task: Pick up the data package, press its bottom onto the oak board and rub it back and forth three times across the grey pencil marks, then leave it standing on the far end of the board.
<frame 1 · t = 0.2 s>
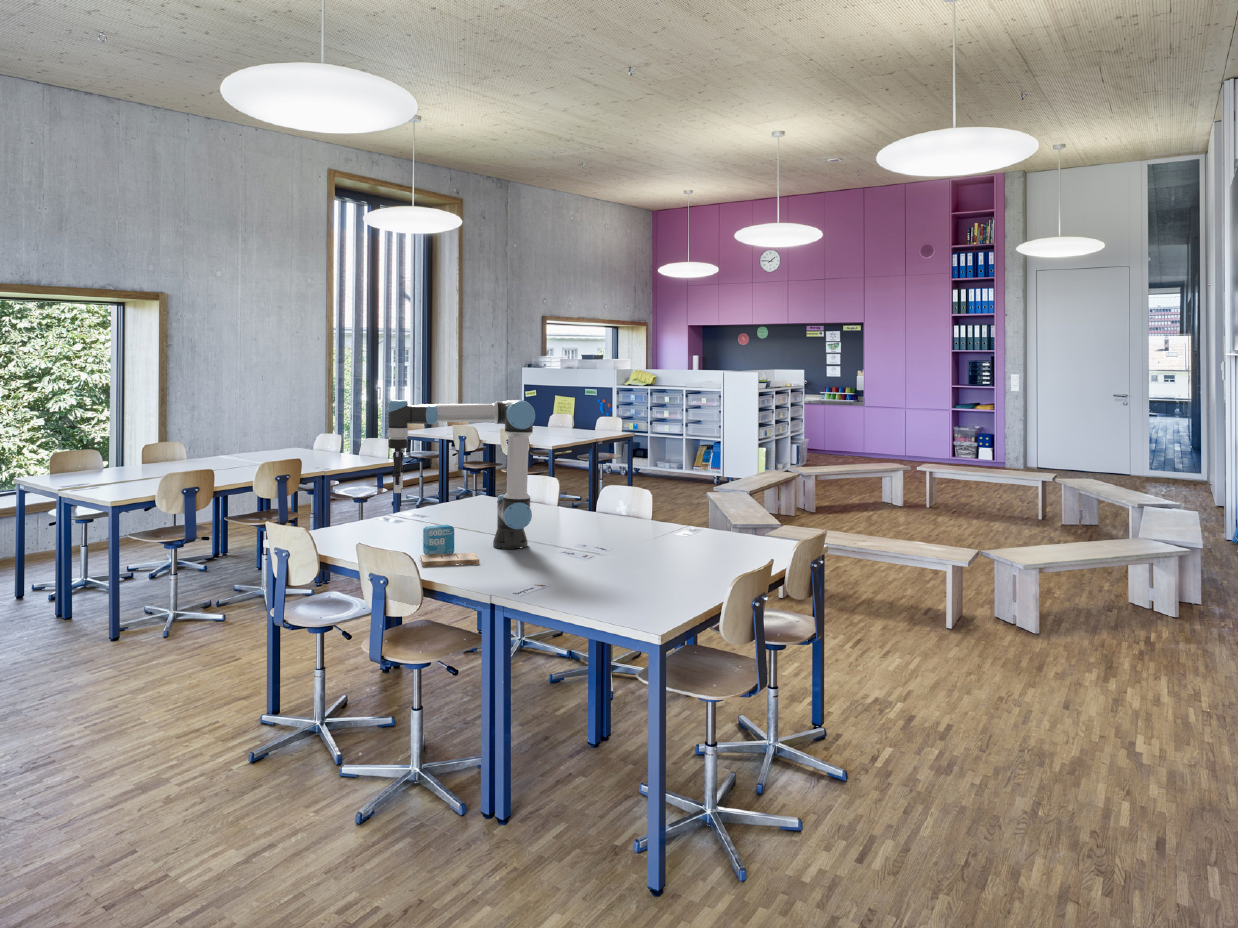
hand: (398, 490, 338), 27 cm above the table, tool pointing down, fingers open, 13 cm apart
data package: (438, 555, 347), on the table
oak board: (449, 561, 333), on the table
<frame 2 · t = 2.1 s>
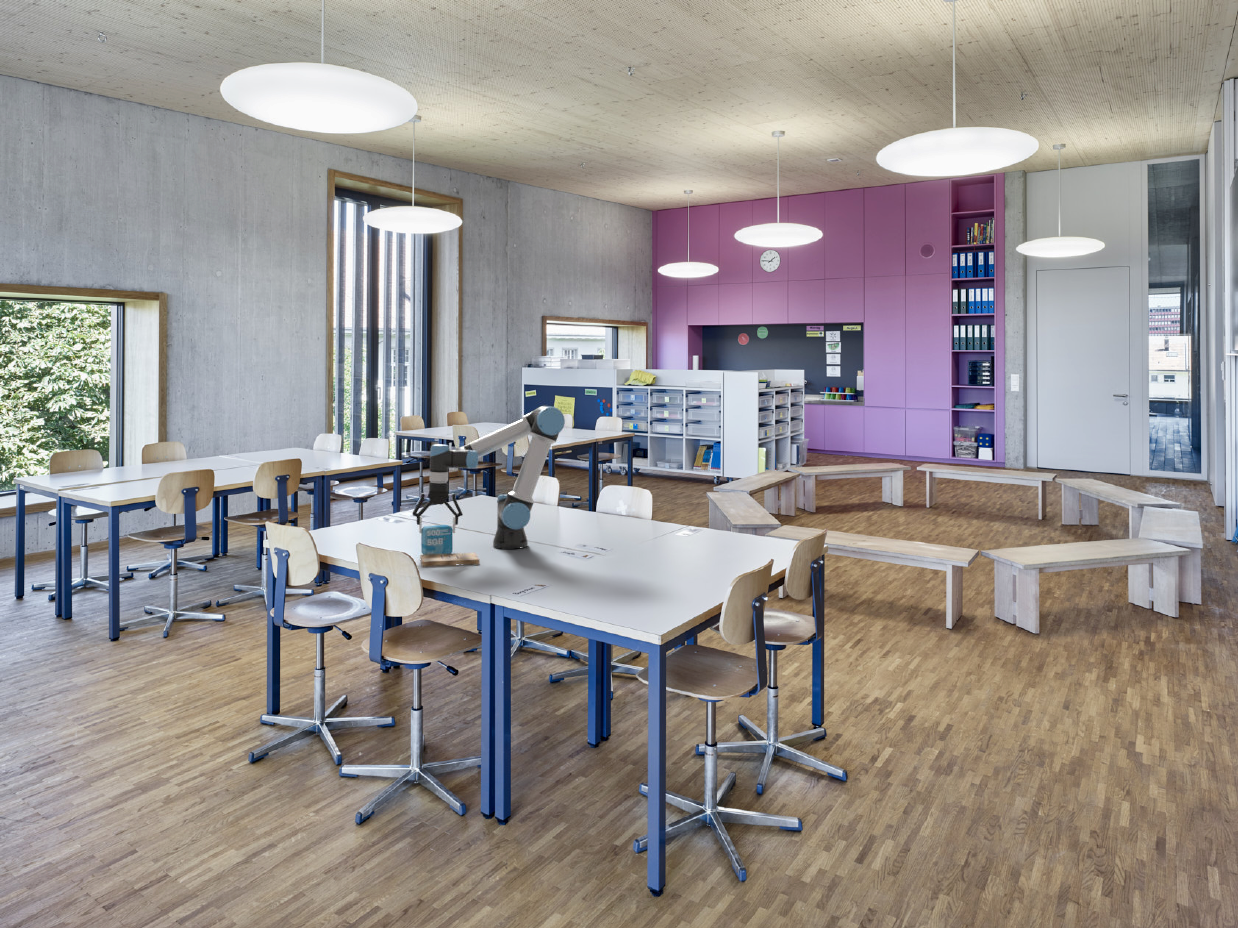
hand: (437, 532, 345), 9 cm above the table, tool pointing down, fingers open, 13 cm apart
nothing on the table moved.
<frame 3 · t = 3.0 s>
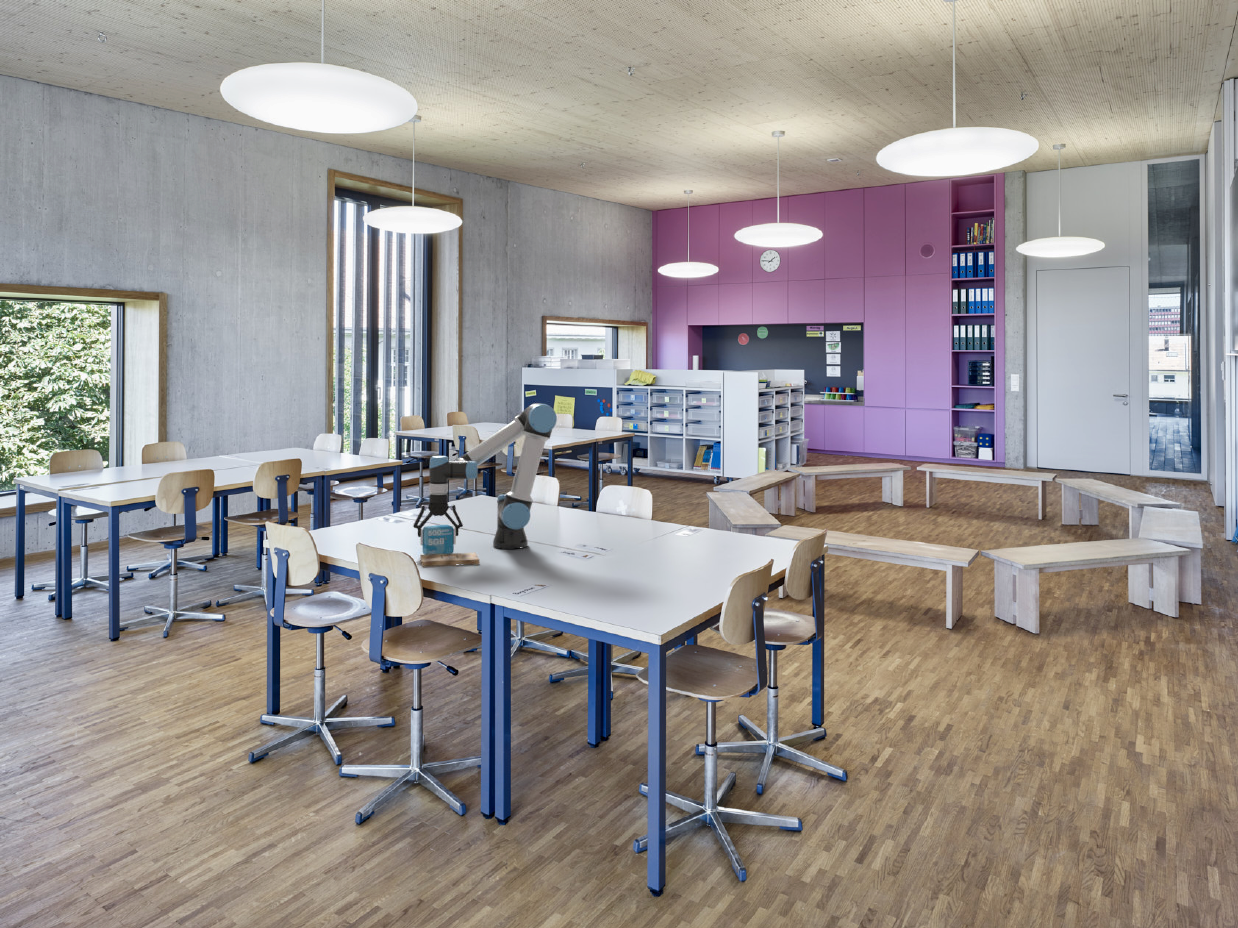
hand: (438, 544, 346), 4 cm above the table, tool pointing down, fingers closed on data package, 13 cm apart
data package: (438, 555, 346), on the table, touching gripper
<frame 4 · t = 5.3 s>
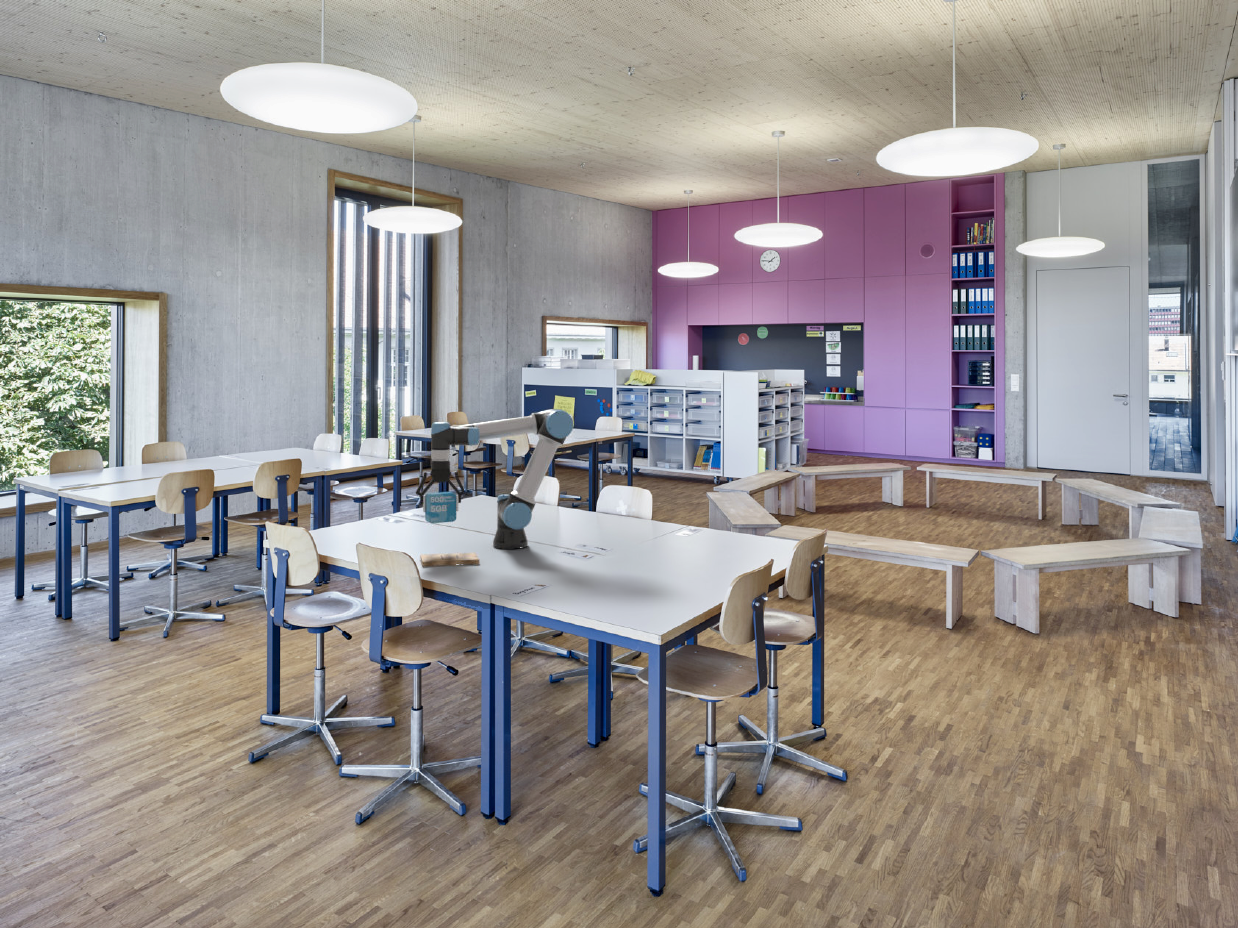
hand: (440, 511, 344), 18 cm above the table, tool pointing down, fingers closed on data package, 13 cm apart
data package: (440, 522, 344), point 14 cm above the table, touching gripper
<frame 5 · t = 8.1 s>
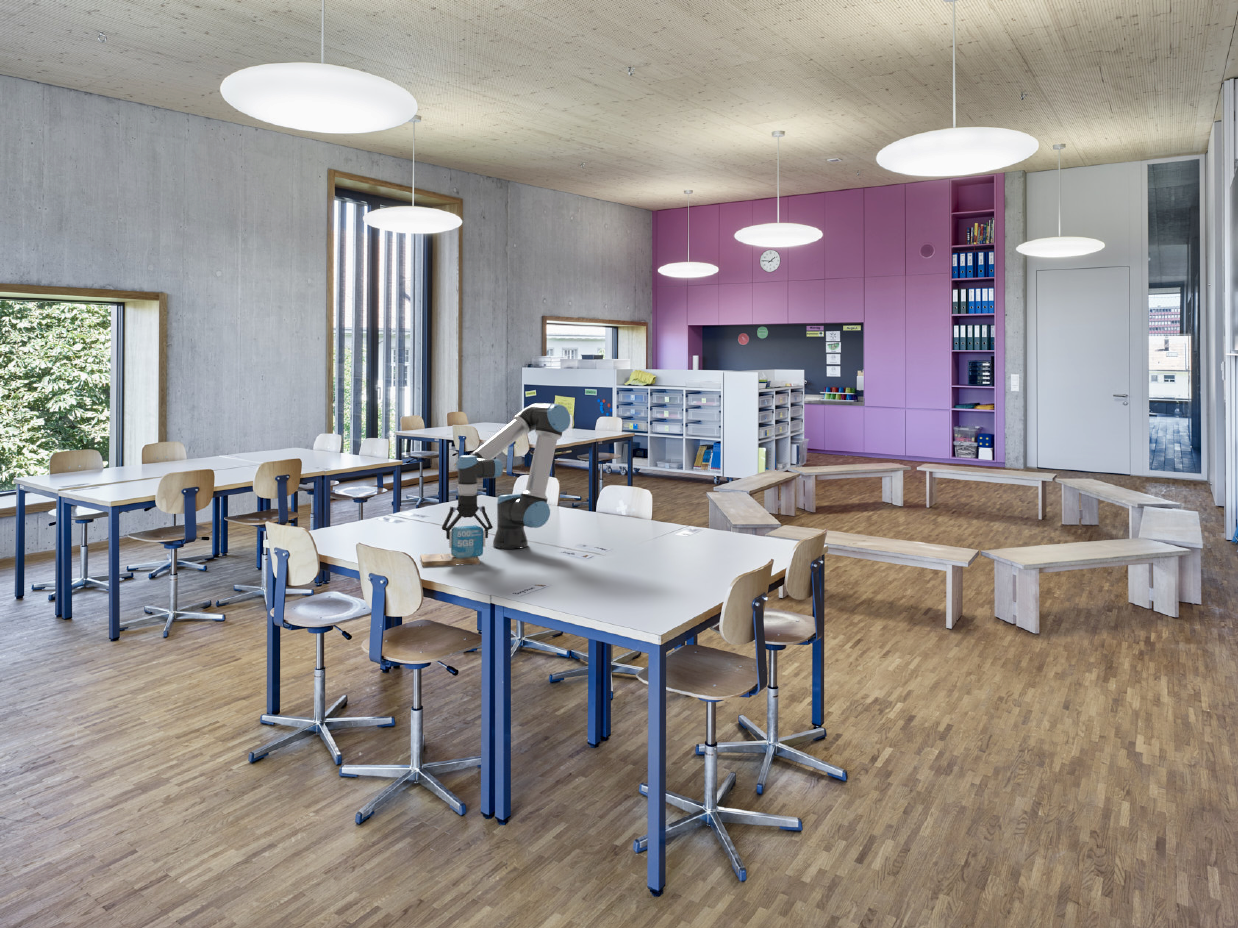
hand: (467, 546, 335), 6 cm above the table, tool pointing down, fingers closed on data package, 13 cm apart
data package: (467, 556, 335), point 2 cm above the table, touching gripper, oak board
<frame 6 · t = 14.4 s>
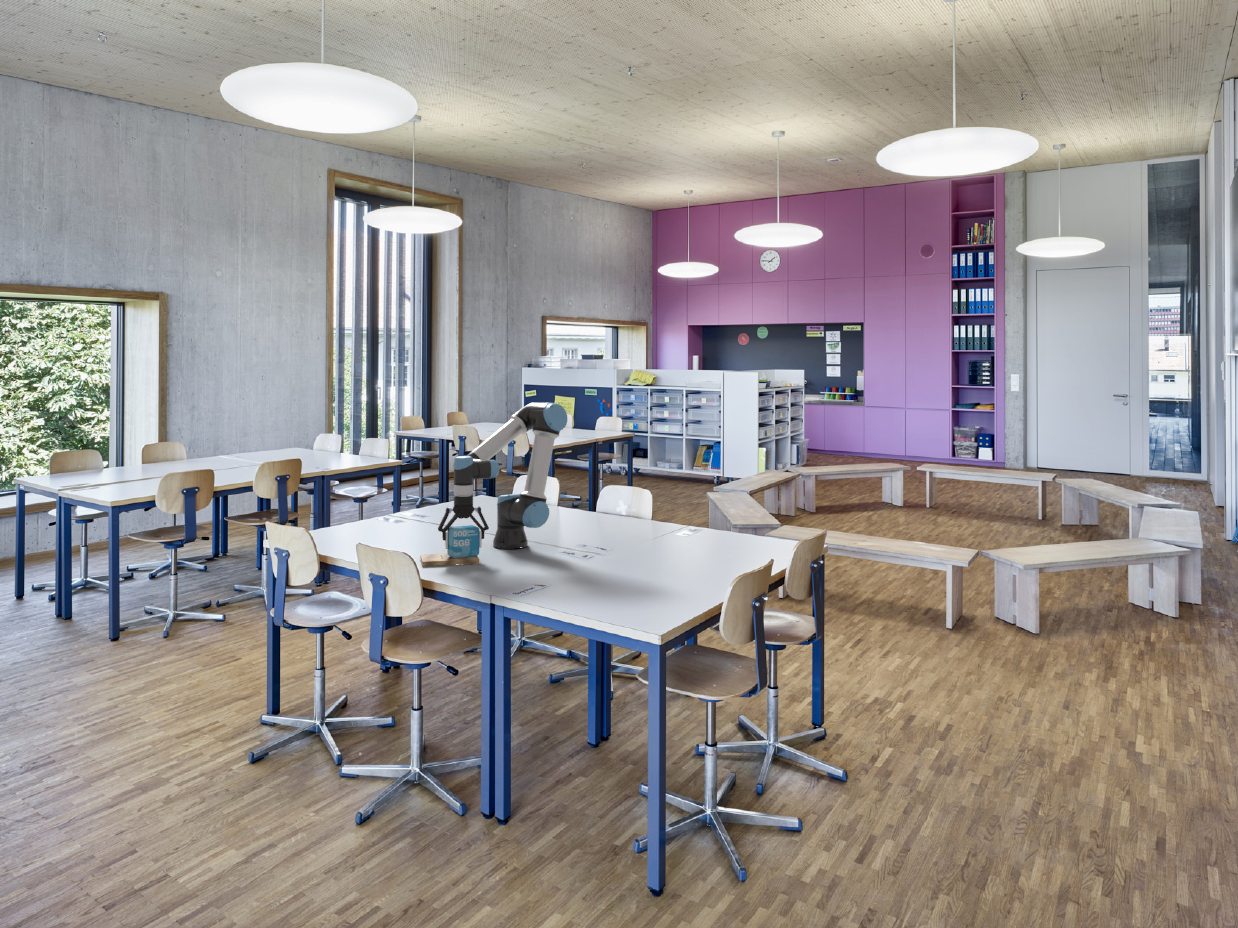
hand: (463, 547, 334), 6 cm above the table, tool pointing down, fingers closed on data package, 13 cm apart
data package: (463, 556, 335), point 2 cm above the table, touching gripper
when the fingers open (6 cm above the table, at t = 19.9 s): data package stays where it is, resting on oak board.
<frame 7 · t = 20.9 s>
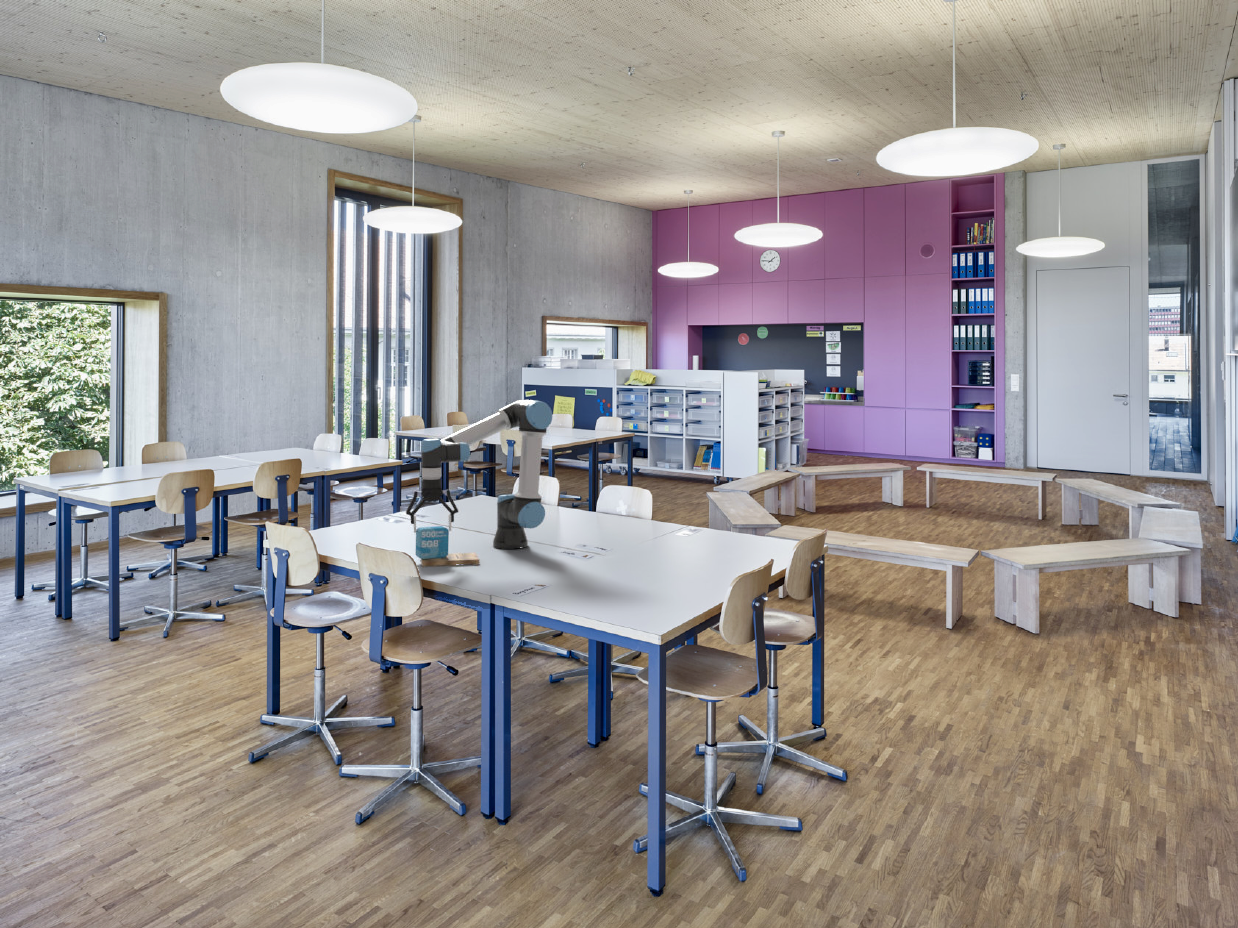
hand: (432, 531, 330), 13 cm above the table, tool pointing down, fingers open, 13 cm apart
data package: (431, 557, 331), point 2 cm above the table, touching oak board
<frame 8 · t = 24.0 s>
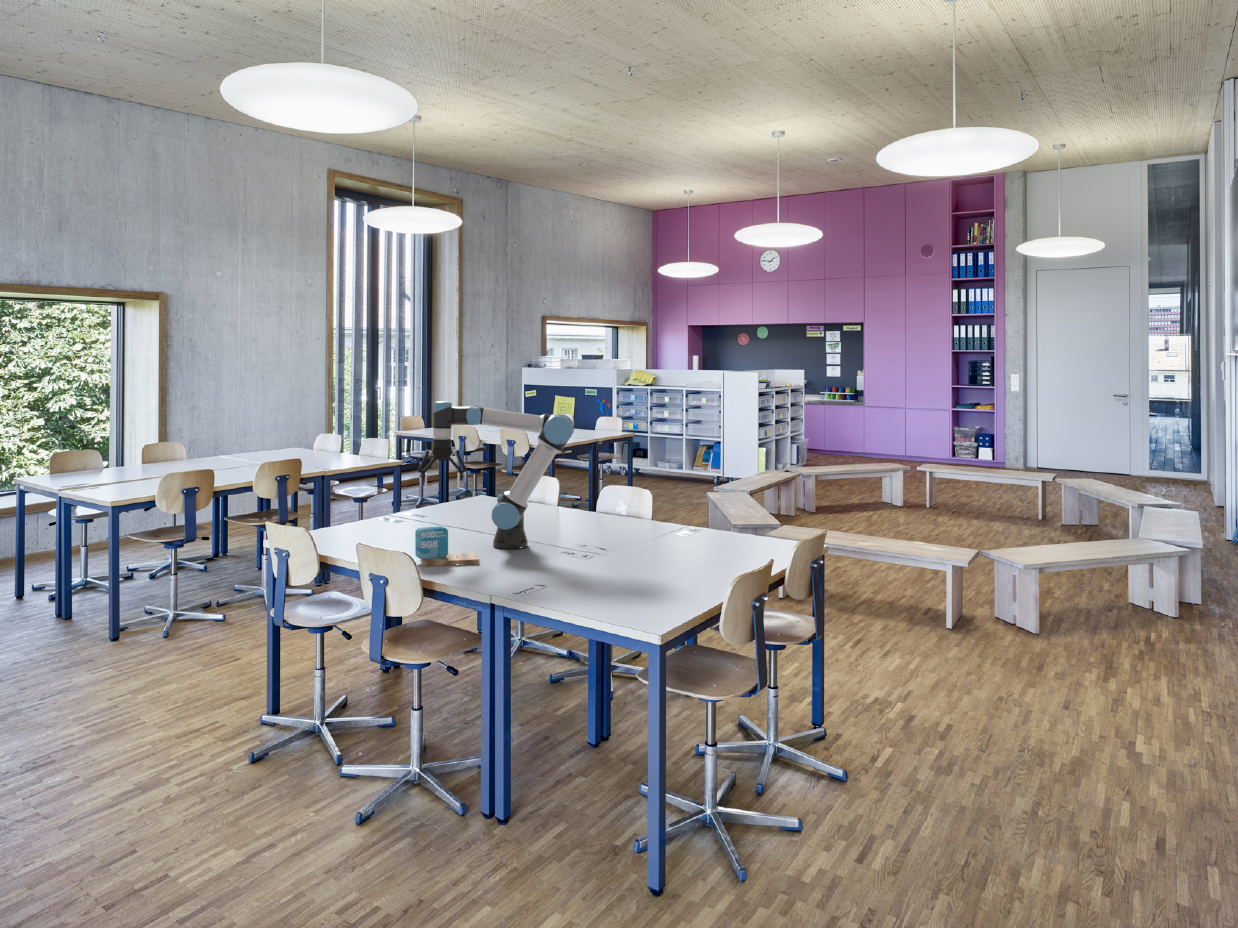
hand: (442, 488, 351), 27 cm above the table, tool pointing down, fingers open, 13 cm apart
nothing on the table moved.
at the end: data package inside the target area on the oak board (0.5 cm from its centre), point 1.8 cm above the oak board's base; data package tilted 0°; the gripper is holding nothing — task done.
